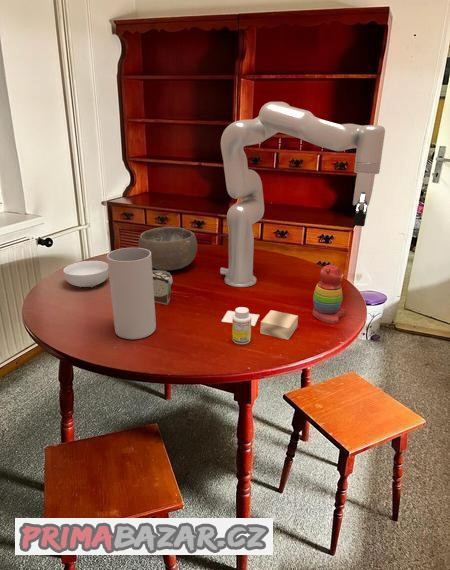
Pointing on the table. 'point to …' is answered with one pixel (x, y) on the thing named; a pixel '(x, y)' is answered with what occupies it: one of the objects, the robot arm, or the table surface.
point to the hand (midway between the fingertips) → (360, 222)
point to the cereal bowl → (86, 273)
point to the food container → (162, 286)
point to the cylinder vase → (132, 292)
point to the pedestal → (279, 324)
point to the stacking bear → (329, 295)
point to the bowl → (169, 247)
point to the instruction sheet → (230, 314)
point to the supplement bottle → (241, 326)
